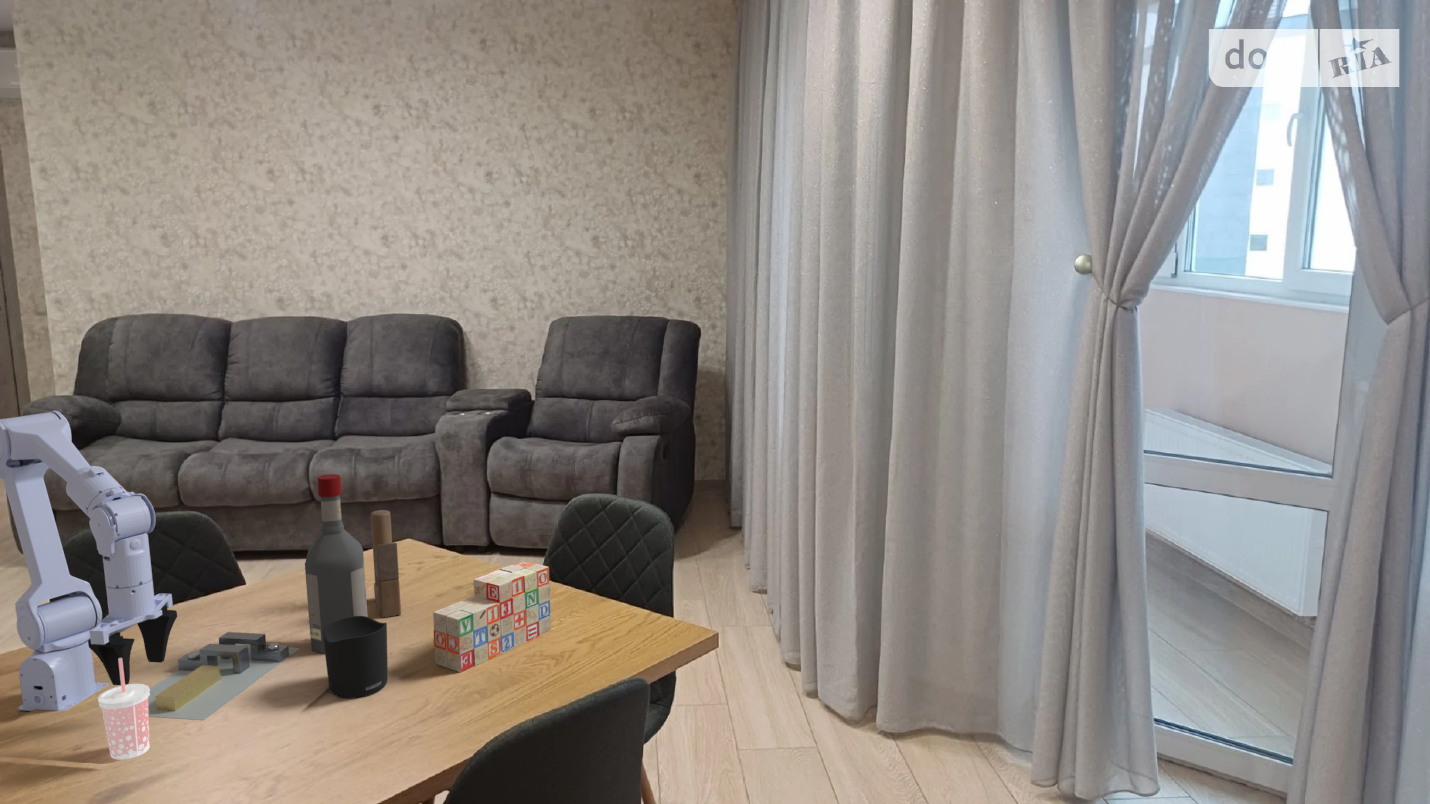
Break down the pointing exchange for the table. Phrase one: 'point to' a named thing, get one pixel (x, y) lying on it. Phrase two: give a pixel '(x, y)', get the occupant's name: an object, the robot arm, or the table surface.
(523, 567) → the stack of blocks
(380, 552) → the wooden block
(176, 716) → the mat
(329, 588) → the liquor
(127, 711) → the beverage cup
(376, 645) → the pen holder
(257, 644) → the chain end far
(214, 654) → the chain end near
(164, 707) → the link bar
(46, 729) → the table surface
